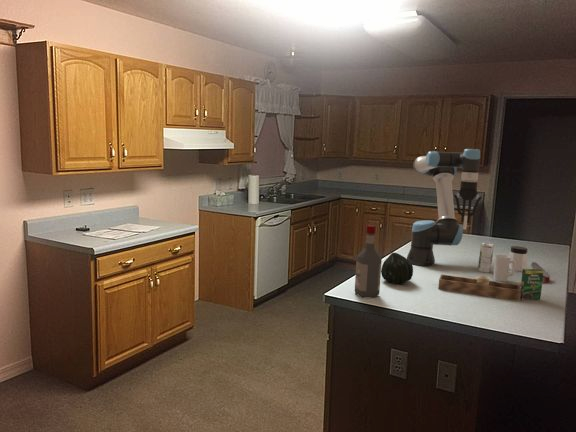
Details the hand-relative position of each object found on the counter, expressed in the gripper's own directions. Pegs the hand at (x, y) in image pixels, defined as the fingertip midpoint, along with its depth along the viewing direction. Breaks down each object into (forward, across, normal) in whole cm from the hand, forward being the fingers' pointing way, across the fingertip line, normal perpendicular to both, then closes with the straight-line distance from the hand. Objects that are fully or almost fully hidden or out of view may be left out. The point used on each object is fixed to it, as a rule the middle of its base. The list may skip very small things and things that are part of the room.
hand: (464, 229), depth 236 cm
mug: (+25, +20, +5) cm, 32 cm away
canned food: (+25, +36, +15) cm, 46 cm away
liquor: (+25, -35, -51) cm, 67 cm away
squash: (+25, -27, -25) cm, 44 cm away
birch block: (+22, +10, -22) cm, 33 cm away
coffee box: (+25, +30, -21) cm, 44 cm away
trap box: (+24, +9, -22) cm, 34 cm away
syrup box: (+25, +11, +20) cm, 34 cm away
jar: (+25, +27, +33) cm, 49 cm away
